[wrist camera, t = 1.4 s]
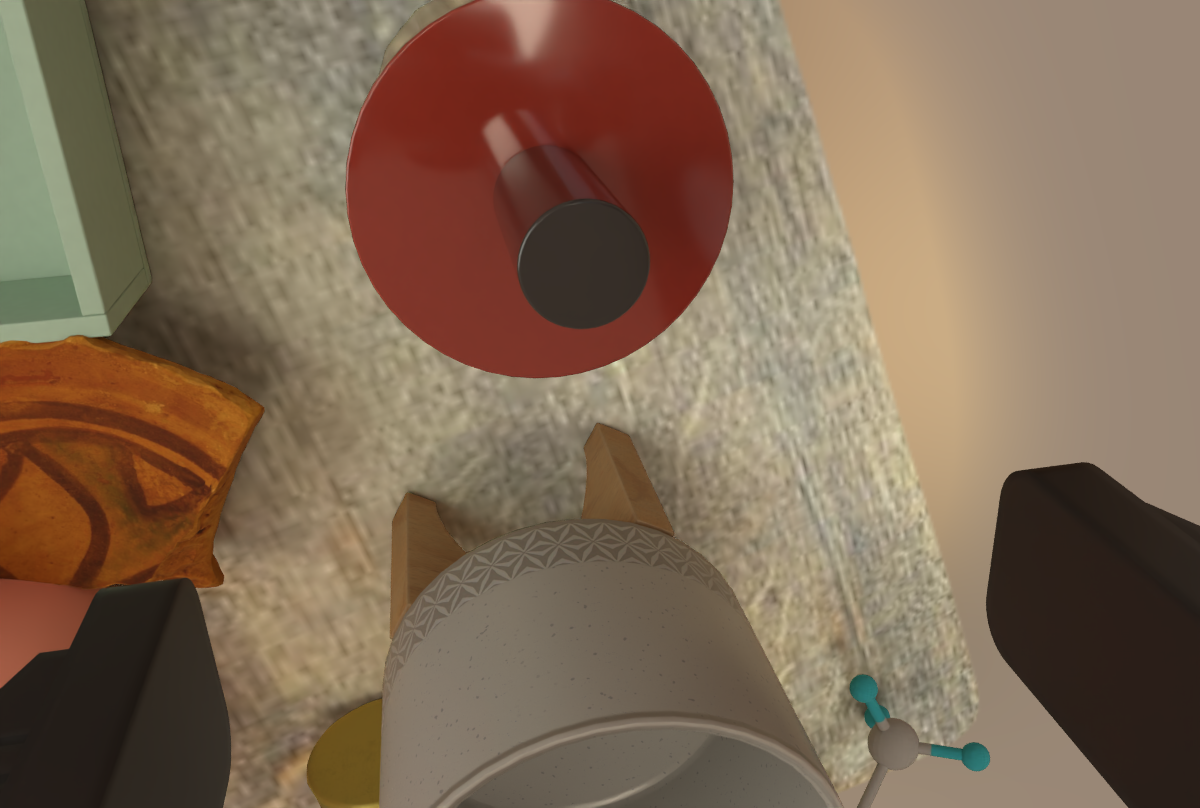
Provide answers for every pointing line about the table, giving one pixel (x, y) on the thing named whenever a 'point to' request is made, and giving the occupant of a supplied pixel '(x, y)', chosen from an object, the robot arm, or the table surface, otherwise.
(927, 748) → the molecular model
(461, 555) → the planter
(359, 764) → the vase
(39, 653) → the robot arm
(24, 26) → the green square box
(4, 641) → the teapot
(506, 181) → the lid
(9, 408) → the pottery fragment
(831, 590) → the table surface
